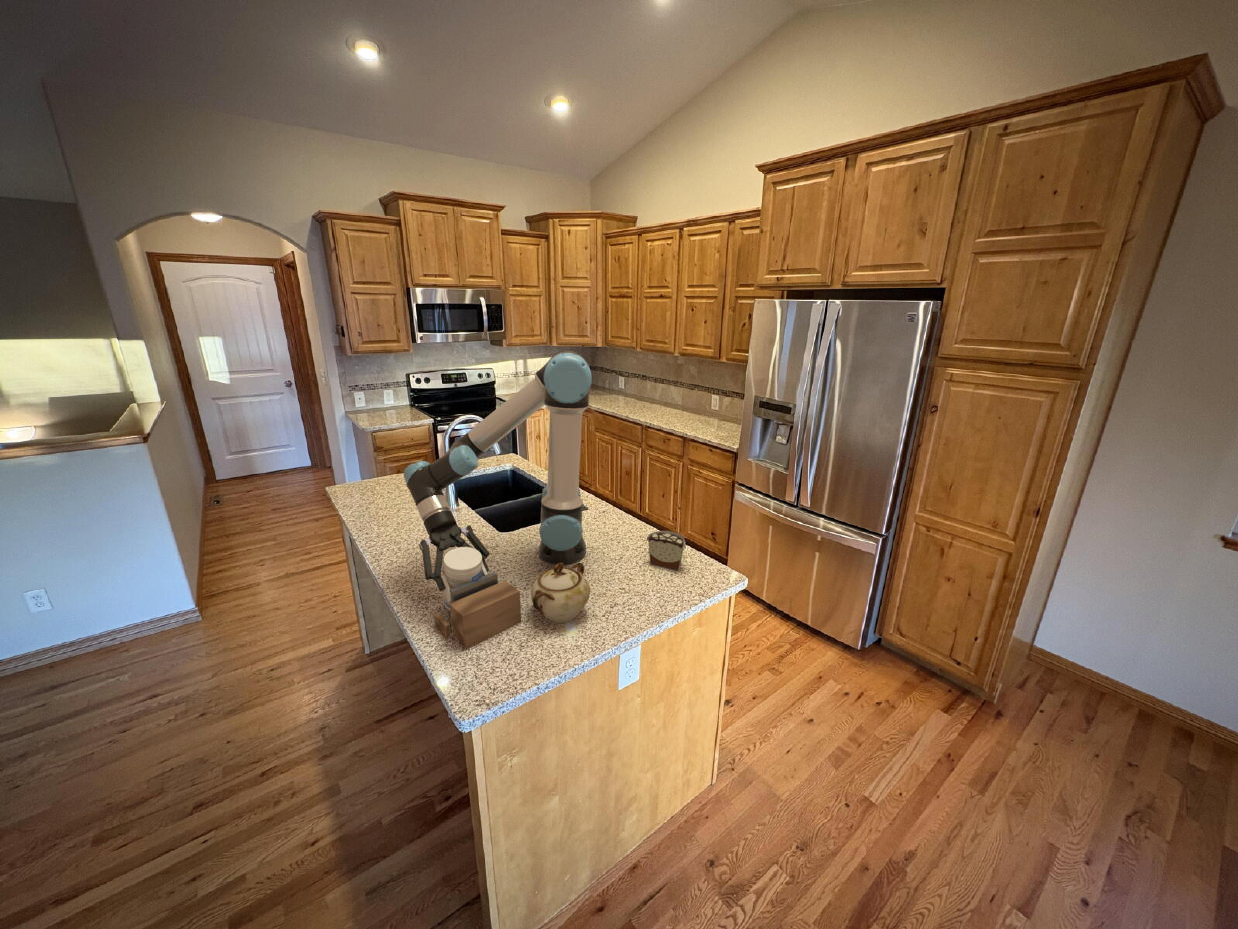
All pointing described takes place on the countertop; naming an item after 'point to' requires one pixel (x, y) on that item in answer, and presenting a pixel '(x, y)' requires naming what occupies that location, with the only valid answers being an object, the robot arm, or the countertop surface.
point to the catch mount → (482, 614)
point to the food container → (666, 549)
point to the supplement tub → (461, 567)
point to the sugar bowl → (561, 592)
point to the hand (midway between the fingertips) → (470, 592)
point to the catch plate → (473, 586)
